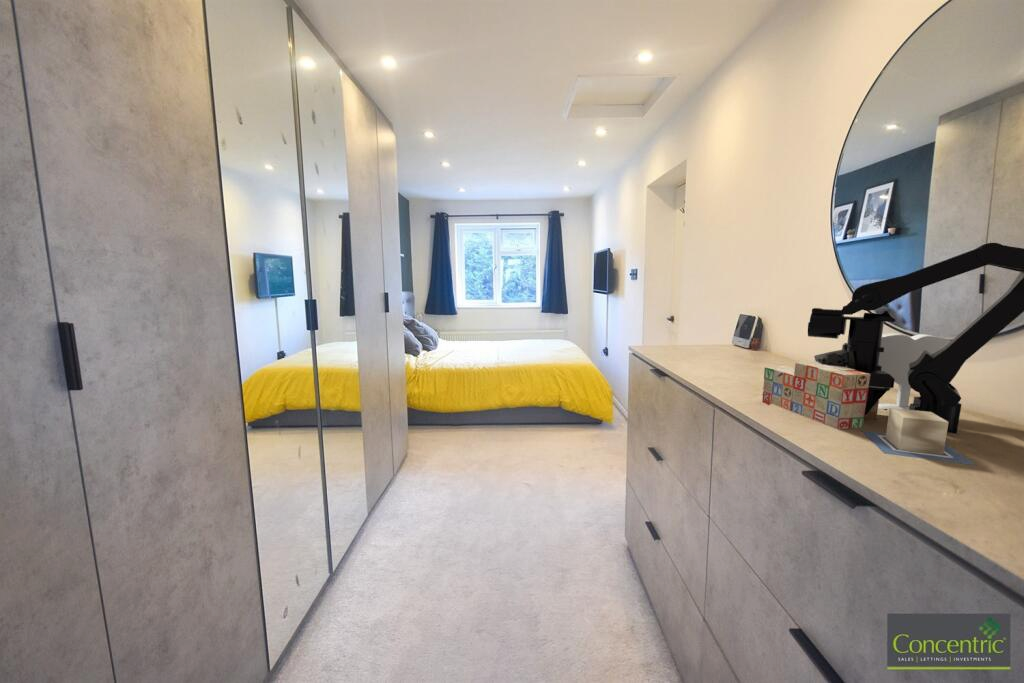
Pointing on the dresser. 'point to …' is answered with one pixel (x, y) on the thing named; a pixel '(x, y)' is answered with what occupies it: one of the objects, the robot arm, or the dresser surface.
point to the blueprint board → (889, 448)
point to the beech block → (916, 431)
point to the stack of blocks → (819, 392)
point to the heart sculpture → (905, 360)
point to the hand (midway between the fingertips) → (855, 408)
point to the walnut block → (872, 412)
